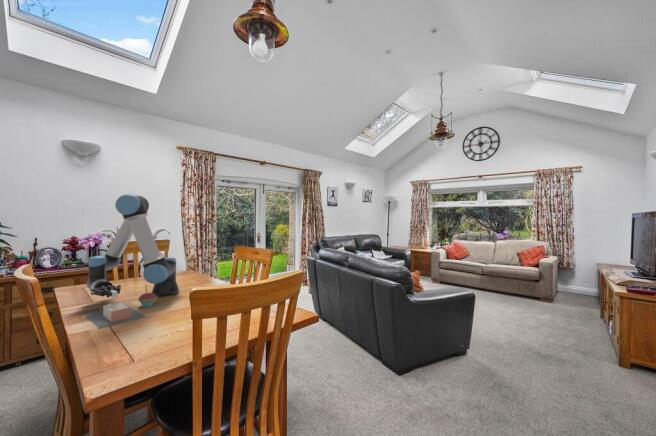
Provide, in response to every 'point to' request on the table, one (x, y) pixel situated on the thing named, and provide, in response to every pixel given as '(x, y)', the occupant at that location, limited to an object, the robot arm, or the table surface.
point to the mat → (104, 322)
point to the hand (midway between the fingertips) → (115, 295)
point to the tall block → (116, 311)
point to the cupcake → (147, 299)
